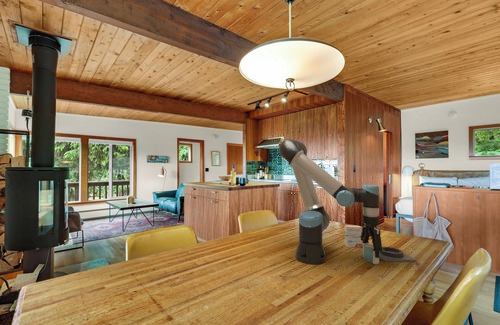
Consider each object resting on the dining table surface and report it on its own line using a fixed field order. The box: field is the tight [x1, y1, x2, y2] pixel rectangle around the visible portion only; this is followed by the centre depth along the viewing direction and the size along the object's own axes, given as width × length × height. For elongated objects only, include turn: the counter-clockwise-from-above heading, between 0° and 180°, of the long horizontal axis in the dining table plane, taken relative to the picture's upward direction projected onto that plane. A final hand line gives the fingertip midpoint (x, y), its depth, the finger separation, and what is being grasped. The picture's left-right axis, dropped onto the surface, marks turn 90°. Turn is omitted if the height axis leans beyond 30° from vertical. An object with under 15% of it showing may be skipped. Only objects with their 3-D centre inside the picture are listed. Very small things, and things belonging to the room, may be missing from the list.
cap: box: [363, 243, 374, 264], centre depth 124 cm, size 6×6×7 cm
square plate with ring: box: [379, 246, 417, 263], centre depth 130 cm, size 16×16×3 cm
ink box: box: [344, 224, 363, 249], centre depth 145 cm, size 9×5×12 cm, turn 84°
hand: (370, 259), depth 124 cm, fingers open, 9 cm apart
